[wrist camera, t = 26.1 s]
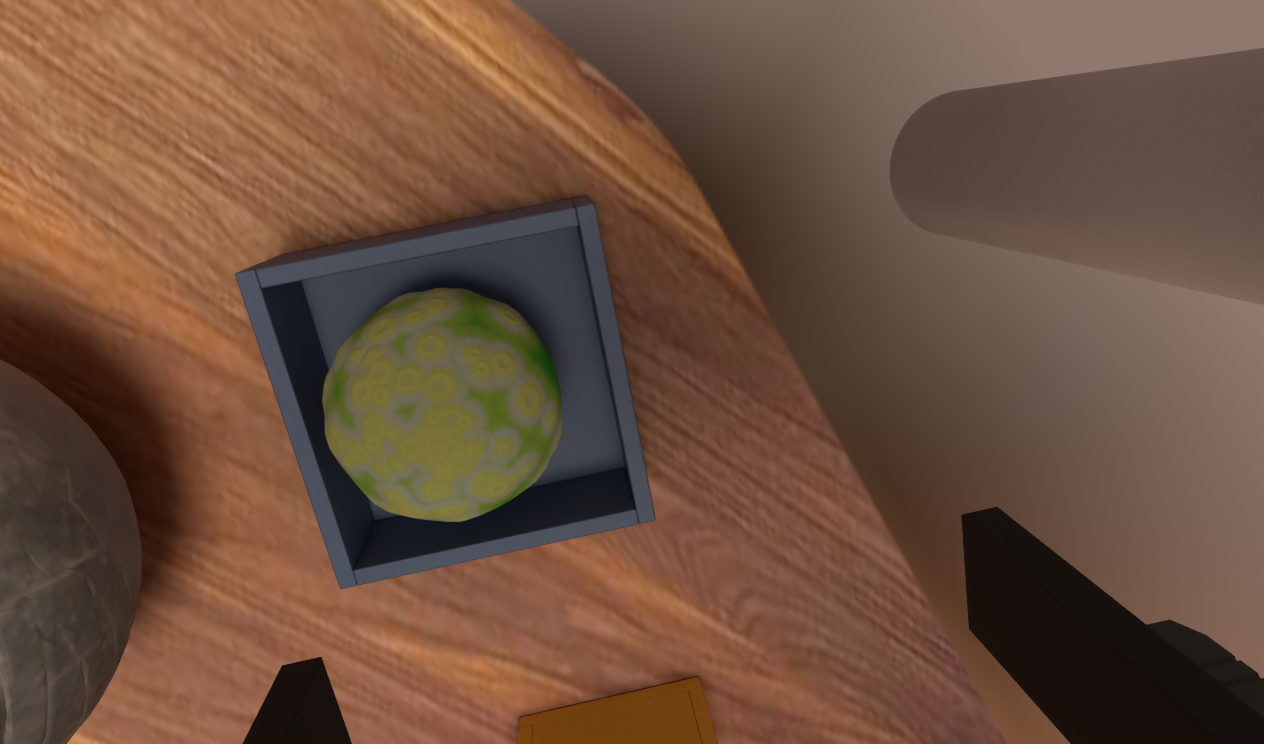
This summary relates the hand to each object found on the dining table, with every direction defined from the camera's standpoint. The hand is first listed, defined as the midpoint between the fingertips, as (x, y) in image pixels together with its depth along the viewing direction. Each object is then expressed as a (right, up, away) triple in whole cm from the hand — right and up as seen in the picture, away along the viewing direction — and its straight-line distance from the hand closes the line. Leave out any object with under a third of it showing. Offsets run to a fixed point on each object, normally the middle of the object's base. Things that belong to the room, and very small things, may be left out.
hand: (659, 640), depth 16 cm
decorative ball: (-9, +5, +23) cm, 25 cm away
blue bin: (-9, +5, +23) cm, 25 cm away
